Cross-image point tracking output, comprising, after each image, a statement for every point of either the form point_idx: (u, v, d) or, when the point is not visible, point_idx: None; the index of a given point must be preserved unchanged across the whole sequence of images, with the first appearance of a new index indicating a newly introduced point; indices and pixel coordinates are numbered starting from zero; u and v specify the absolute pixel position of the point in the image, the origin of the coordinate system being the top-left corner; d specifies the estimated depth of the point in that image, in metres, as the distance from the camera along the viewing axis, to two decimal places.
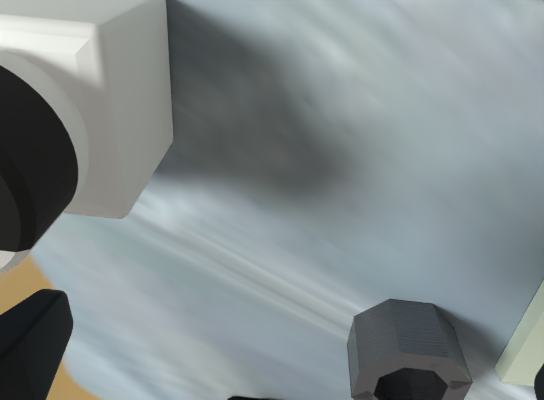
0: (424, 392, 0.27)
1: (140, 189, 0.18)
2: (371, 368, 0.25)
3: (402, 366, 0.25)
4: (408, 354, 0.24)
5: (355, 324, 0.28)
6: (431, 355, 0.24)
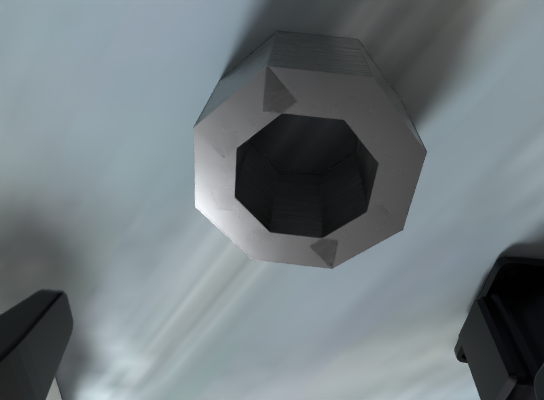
0: None
1: None
2: (245, 244, 0.14)
3: (233, 199, 0.13)
4: (199, 193, 0.13)
5: None
6: (194, 157, 0.13)
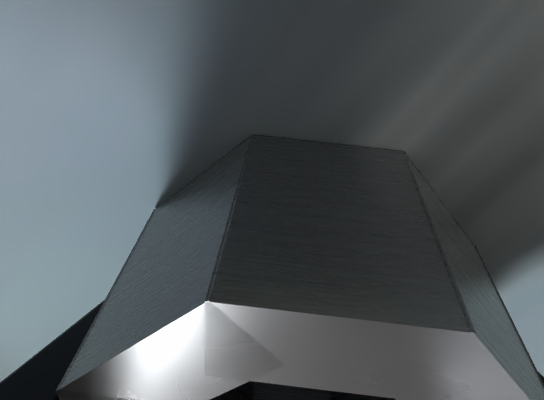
0: None
1: None
2: None
3: None
4: None
5: None
6: None
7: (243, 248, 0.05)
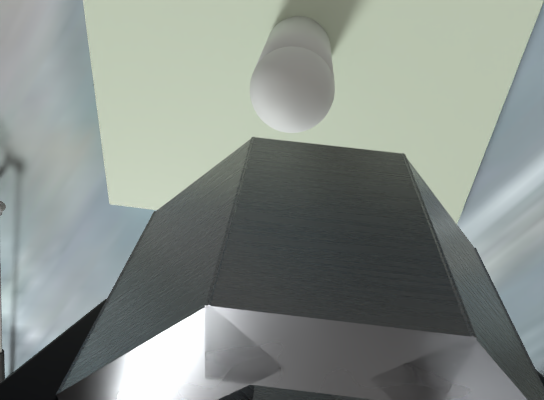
0: None
1: None
2: None
3: None
4: None
5: None
6: None
7: (243, 251, 0.05)
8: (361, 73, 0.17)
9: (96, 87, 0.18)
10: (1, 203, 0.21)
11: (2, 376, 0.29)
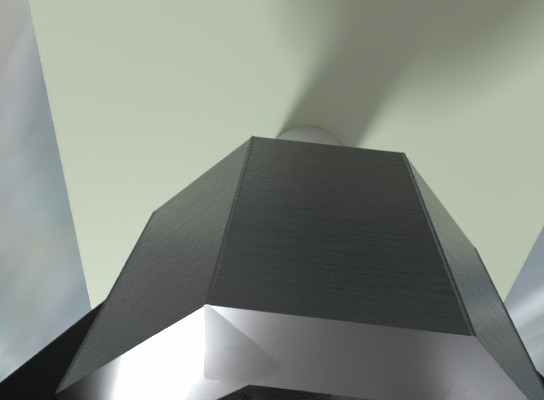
0: None
1: None
2: None
3: None
4: None
5: None
6: None
7: (243, 251, 0.05)
8: None
9: (70, 194, 0.15)
10: None
11: None
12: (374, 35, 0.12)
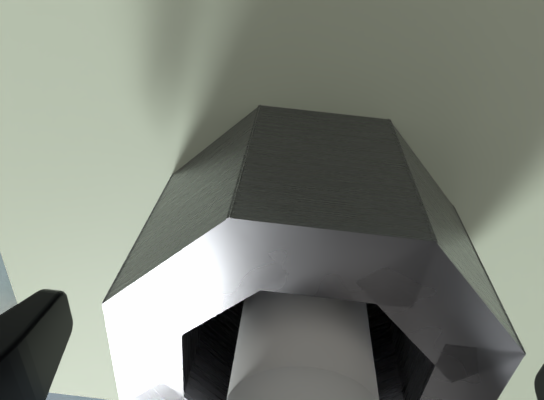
0: None
1: None
2: None
3: (182, 399, 0.08)
4: (125, 388, 0.08)
5: None
6: (110, 343, 0.07)
7: (255, 185, 0.06)
8: None
9: (10, 267, 0.12)
10: None
11: None
12: (398, 82, 0.09)
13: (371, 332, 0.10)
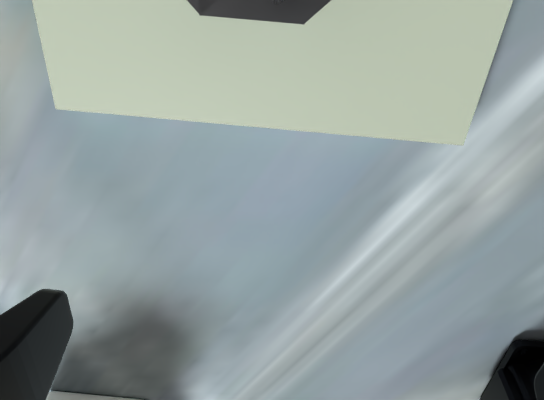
0: None
1: None
2: None
3: None
4: None
5: None
6: None
7: None
8: None
9: None
10: None
11: None
12: None
13: None
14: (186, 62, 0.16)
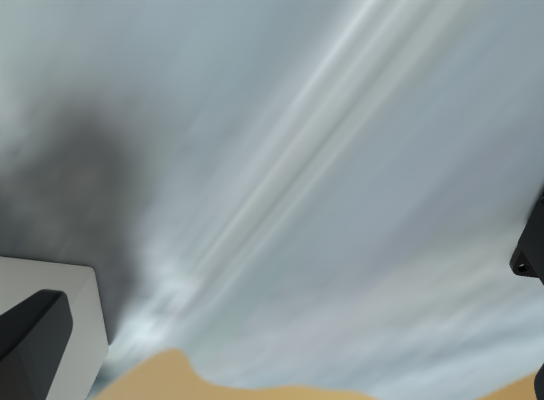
0: None
1: None
2: None
3: None
4: None
5: None
6: None
7: None
8: None
9: None
10: None
11: None
12: None
13: None
14: None
